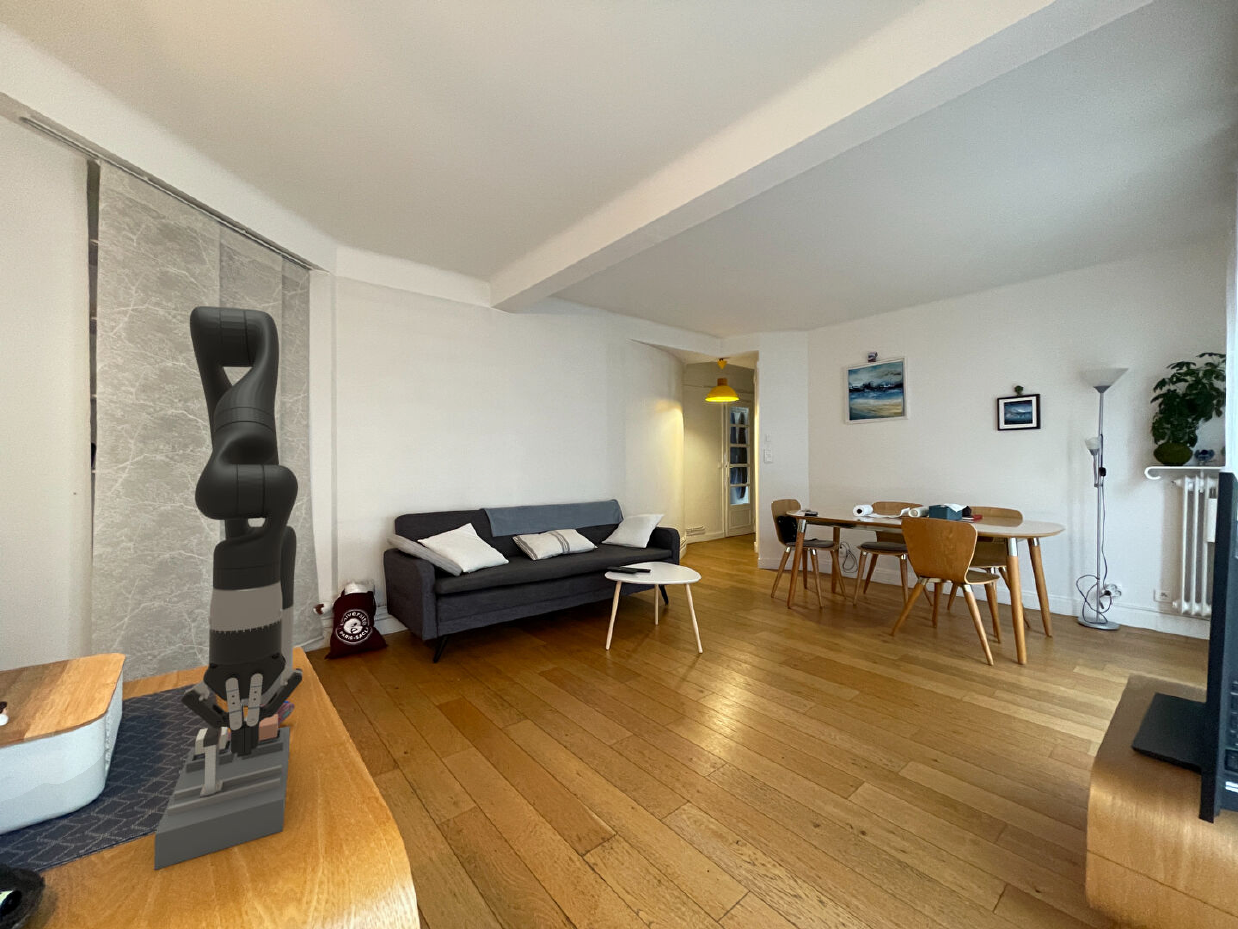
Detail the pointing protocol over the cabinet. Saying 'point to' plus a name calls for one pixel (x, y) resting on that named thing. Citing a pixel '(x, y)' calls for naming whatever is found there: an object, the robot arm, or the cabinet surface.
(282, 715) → the video game controller
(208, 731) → the slide paddle
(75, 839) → the cabinet surface
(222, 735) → the cream button
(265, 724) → the terracotta button
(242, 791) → the control panel
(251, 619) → the robot arm
